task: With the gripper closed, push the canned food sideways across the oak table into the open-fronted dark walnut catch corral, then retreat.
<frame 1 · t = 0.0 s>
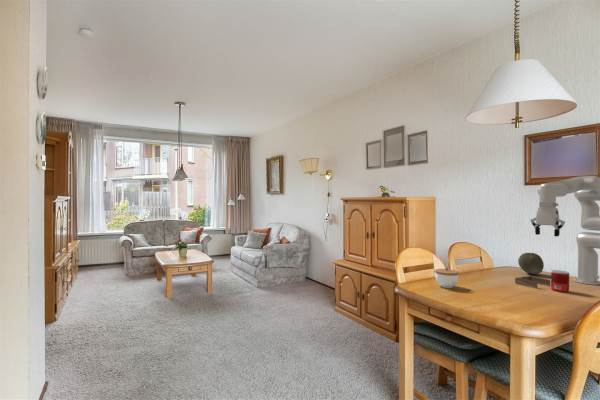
hand: (546, 235, 188), 31 cm above the table, fingers open, 9 cm apart
lidded bowl: (446, 286, 193), on the table
canned food: (559, 291, 187), on the table
corral: (533, 284, 199), on the table
cantaloupe: (530, 274, 228), on the table
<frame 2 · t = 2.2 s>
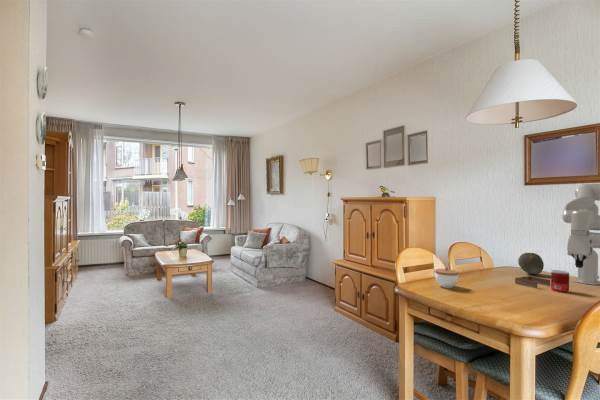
hand: (579, 267, 178), 15 cm above the table, fingers closed
nothing on the table moved.
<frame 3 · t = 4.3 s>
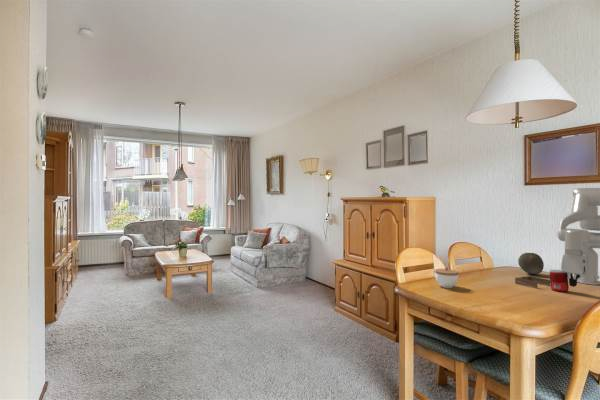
hand: (572, 285, 181), 4 cm above the table, fingers closed
canned food: (559, 290, 187), on the table, touching gripper
everything else where it was.
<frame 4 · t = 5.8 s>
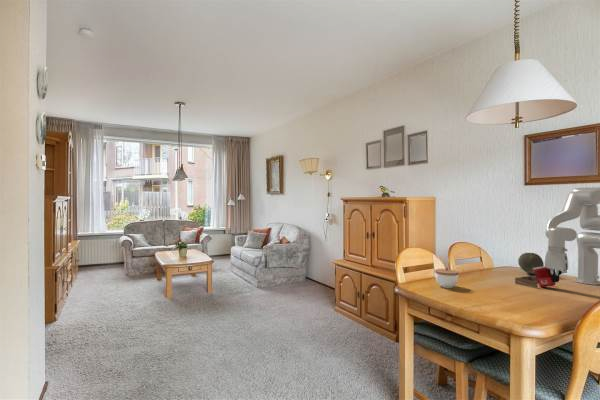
hand: (555, 281, 188), 5 cm above the table, fingers closed
canned food: (547, 286, 192), point 1 cm above the table, touching gripper
everything else where it was.
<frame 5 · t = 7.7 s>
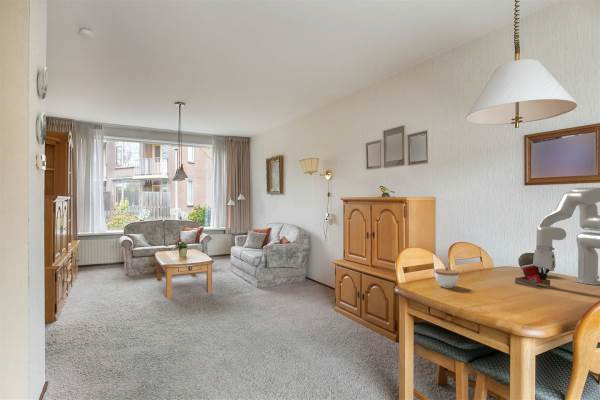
hand: (543, 279, 194), 5 cm above the table, fingers closed
canned food: (535, 283, 198), point 1 cm above the table, touching gripper
everything else where it was.
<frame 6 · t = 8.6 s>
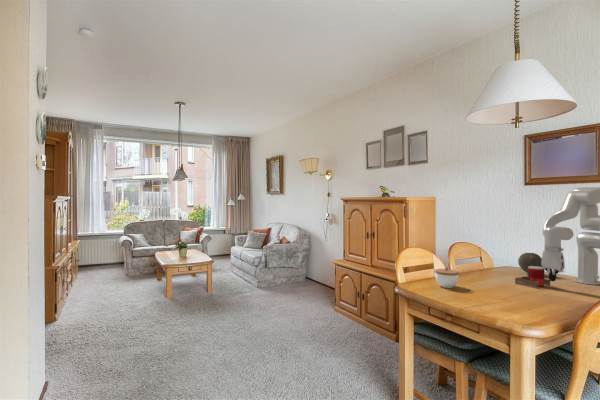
hand: (552, 280, 191), 5 cm above the table, fingers closed
canned food: (535, 285, 198), on the table
everything else where it was.
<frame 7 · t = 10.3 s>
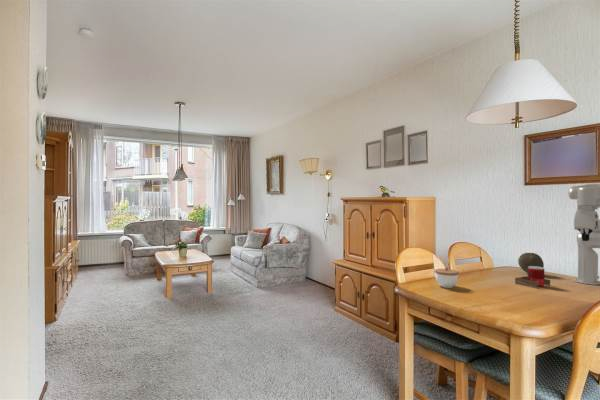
hand: (585, 240, 188), 28 cm above the table, fingers closed
nothing on the table moved.
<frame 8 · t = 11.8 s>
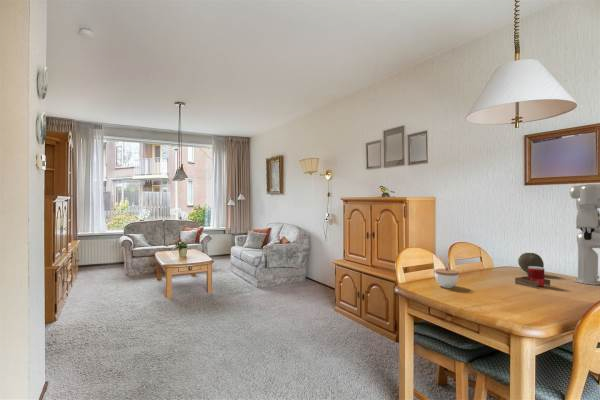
hand: (587, 239, 188), 29 cm above the table, fingers closed
nothing on the table moved.
at the end: canned food inside the target area on the corral (1.4 cm from its centre), point 0.0 cm above the corral's base; canned food tilted 0° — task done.
